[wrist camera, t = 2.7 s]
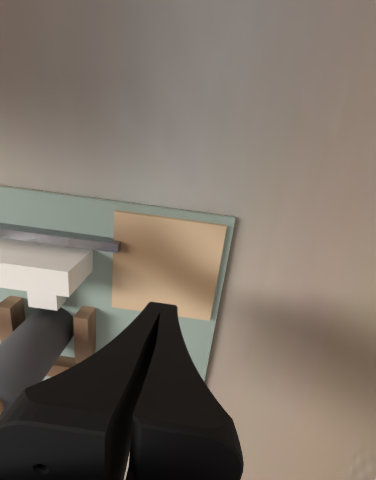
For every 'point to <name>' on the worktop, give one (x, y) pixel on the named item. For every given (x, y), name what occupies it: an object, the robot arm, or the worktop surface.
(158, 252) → the plate
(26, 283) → the white t-shaped block
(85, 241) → the rail
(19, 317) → the cradle
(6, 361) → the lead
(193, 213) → the mat
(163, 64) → the worktop surface
